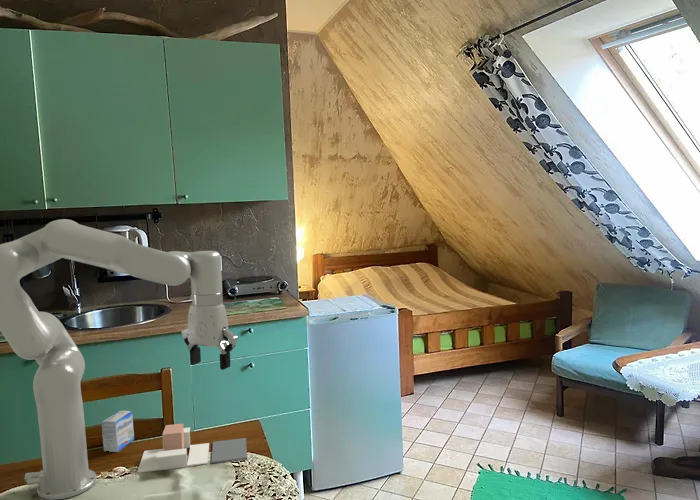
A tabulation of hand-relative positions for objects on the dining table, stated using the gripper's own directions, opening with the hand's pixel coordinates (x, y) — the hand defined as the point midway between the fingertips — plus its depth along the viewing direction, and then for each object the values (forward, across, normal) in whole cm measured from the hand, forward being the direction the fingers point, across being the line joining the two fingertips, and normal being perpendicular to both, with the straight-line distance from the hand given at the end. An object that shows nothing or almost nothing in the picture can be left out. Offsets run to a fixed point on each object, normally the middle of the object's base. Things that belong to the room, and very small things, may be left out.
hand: (210, 365), depth 141 cm
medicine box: (+26, -30, -4) cm, 40 cm away
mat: (+25, 0, +6) cm, 26 cm away
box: (+25, -10, -3) cm, 28 cm away
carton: (+25, -10, -3) cm, 27 cm away
